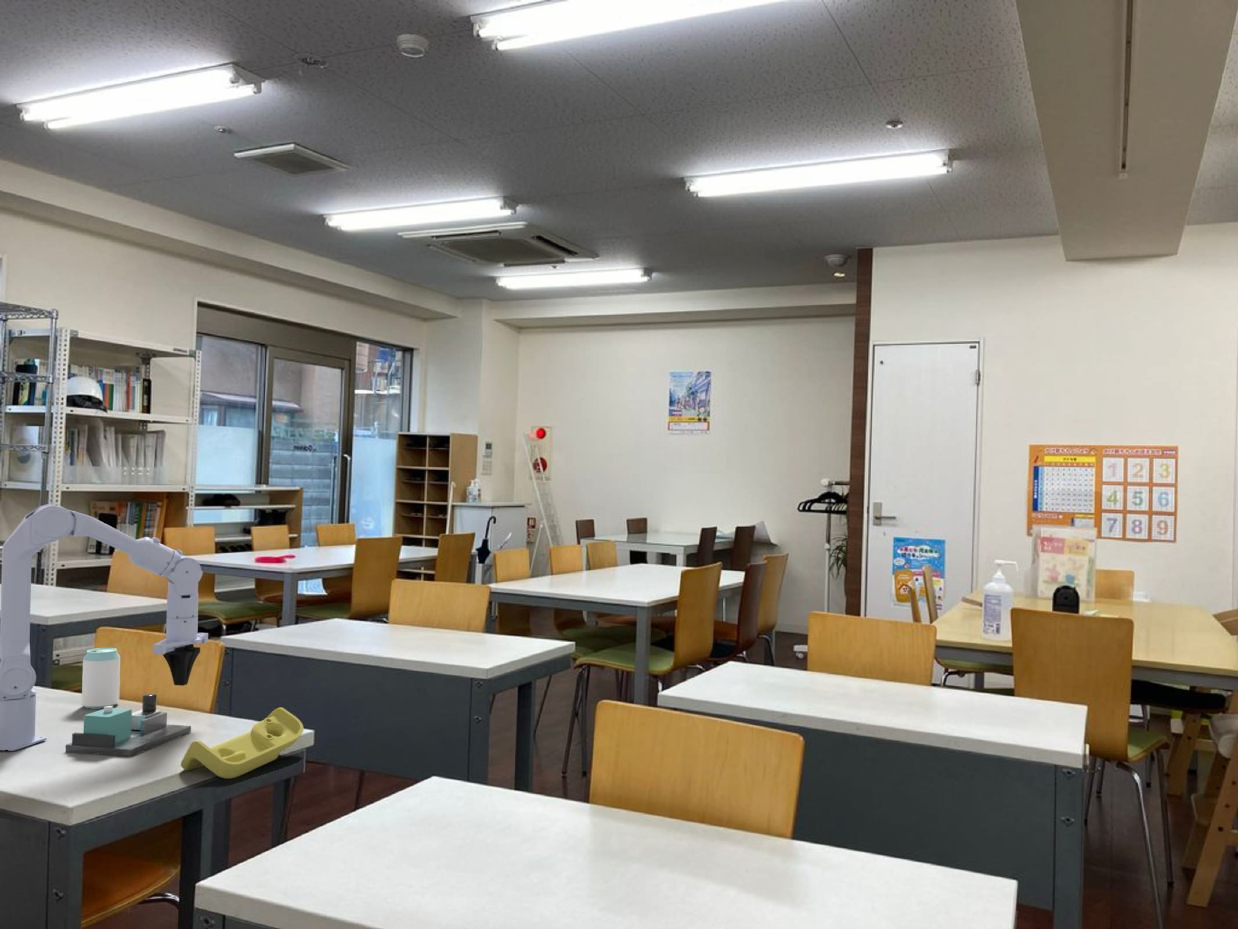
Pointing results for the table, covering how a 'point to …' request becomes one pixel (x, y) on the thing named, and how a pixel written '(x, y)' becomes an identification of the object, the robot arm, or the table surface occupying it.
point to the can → (101, 678)
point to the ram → (145, 711)
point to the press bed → (141, 740)
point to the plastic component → (247, 746)
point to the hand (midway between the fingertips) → (180, 684)
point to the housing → (109, 722)
